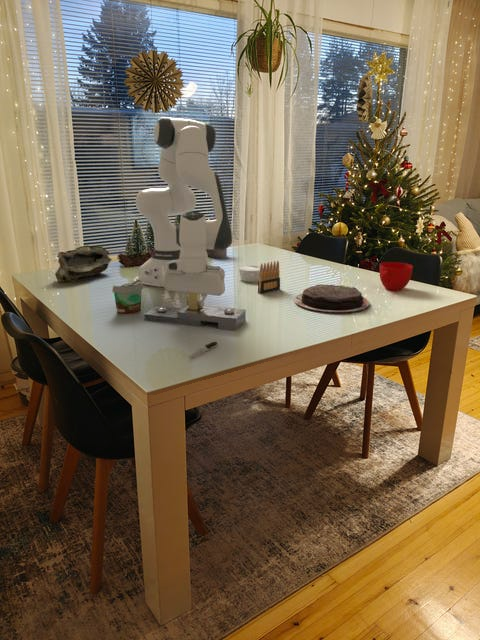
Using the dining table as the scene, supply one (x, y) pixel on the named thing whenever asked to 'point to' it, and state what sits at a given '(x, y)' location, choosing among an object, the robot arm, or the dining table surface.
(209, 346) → the pocket knife
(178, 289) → the robot arm
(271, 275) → the ammunition clip
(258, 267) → the ramekin
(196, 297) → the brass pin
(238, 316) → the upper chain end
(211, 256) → the pillar candle
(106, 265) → the hollow geode rock
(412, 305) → the dining table surface
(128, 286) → the food container
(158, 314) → the lower chain end
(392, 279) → the ceramic cup
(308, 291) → the chocolate cake
